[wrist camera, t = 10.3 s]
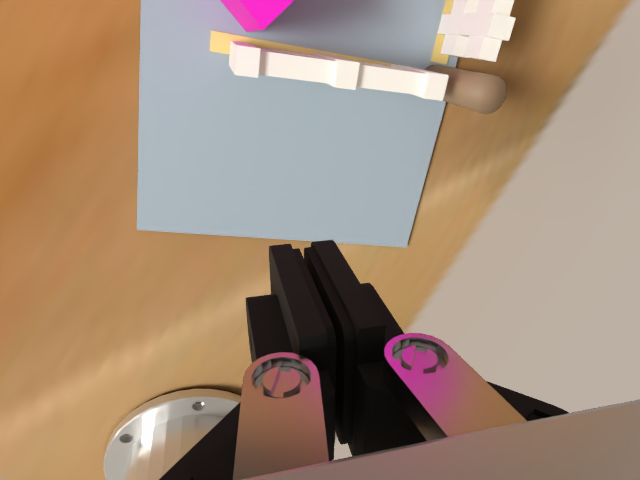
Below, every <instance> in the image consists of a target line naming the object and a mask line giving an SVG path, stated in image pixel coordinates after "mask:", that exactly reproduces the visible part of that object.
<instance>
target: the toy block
mask: <svg viewBox="0 0 640 480" xmlns="http://www.w3.org/2000/svg"><path fill="white" fill-rule="evenodd" d="M220 1H221V2H222V3H223V4H224V5H225V7H226V8H227V9H228V10H229V11H230V13H231V14H232V15H233V16H234V17H235V19H236V20H237V21H238V22H239V23H240V25H241V26H242V27H243V28H244V29H245V31H246V32H247V31H257V30H264V29H265V28H266V27H267V26H268V25H269V24H270V23H271V22H272V21H273V20H274V19H275V18H276V17H277V16H278V15H279V14H281V13H282V12H283V11H284V10H285V9H286V8H287V7H288V6H289V5H290V4H291V3H292V2H293V1H294V0H220Z"/></svg>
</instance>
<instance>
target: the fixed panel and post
mask: <svg viewBox="0 0 640 480" xmlns="http://www.w3.org/2000/svg"><path fill="white" fill-rule="evenodd" d="M513 3H514V0H454V3H453V6H452V10H451V14H442V17H441V21H440V25H439V29H438V33H437V34H442V35H445V38H444V42H443V45H442V49H441V54H446V55H451V56H456V57H463V58H473V59H478V60H485V61H492V62H496V59H497V56H498V52H499V49H500V46H501V42H502V40H503V41H509V39H510V35H511V32H512V29H513V26H514V22H515V19H516V18H514V17H510V13H511V9H512V6H513ZM425 70H428V71H432V72H437V73H441V74H446V75H449V76H448V77H449V79H448V83H447V87H446V92H445V96H444V98H443V101H446V102H449V103H452V104H455V105H458V106H461V107H464V108H467V109H470V110H473V111H476V112H479V113H482V114H490V113H493V112H495V111H496V110H498V109H499V108H500V107H501V105H502V104H503V102H504V100H505V98H506V93H507V89H506V84H505V82H504V80H503V79H502V78H500V77H499V76H496V75H491V74H485V73H480V72H474V71H469V70H464V69H458V68H453V67H447V66H442V65H436V64H435V65H430V66H428V67H427V68H426V69H425Z"/></svg>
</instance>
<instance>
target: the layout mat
mask: <svg viewBox="0 0 640 480" xmlns="http://www.w3.org/2000/svg"><path fill="white" fill-rule="evenodd" d="M453 3H454V0H294V1H293V2H292V3H291V4H290V5H289V6H288V7H287V8H286V9H285V10H284V11H283V12H282V13H281V14H279V15H278V16H277V17H276V18H275V19H274V20H273V21H272V22H271V23H270V24H269V25H268V26H267V27H266V28H265V29H264V30H257V31H247V32H246V31H245V29H244V28H243V27H242V26H241V25H240V23H239V22H238V21H237V20H236V19H235V17H234V16H233V15H232V14H231V13H230V11H229V10H228V9H227V8H226V7H225V5H224V4H223V3H222V2H221V1H220V0H141V28H140V84H139V140H138V197H137V230H147V231H162V232H178V233H193V234H209V235H224V236H240V237H255V238H270V239H286V240H301V241H324V240H333V241H334V242H335V243H348V244H363V245H379V246H394V247H407V244H408V240H409V236H410V233H411V229H412V225H413V222H414V218H415V214H416V211H417V207H418V203H419V200H420V196H421V192H422V189H423V185H424V181H425V178H426V174H427V170H428V167H429V163H430V159H431V156H432V152H433V148H434V145H435V141H436V137H437V133H438V130H439V126H440V122H441V119H442V115H443V111H444V108H445V104H446V101H439V100H431V99H424V98H421V97H418V96H415V95H412V94H407V93H399V92H391V91H383V90H375V89H367V88H359V87H356V90H351V89H343V88H335V87H333V86H331V85H329V84H327V83H320V82H312V81H304V80H296V79H288V78H280V77H272V76H264V75H258V78H254V77H246V76H238V75H235V74H234V73H233V71H232V69H231V68H230V66H229V56H230V41H236V42H243V43H250V44H252V45H254V46H256V47H261V48H268V49H275V50H282V51H289V52H296V53H303V54H310V55H315V53H320V54H327V55H333V56H337V57H341V58H345V59H348V60H352V61H359V62H366V63H373V64H380V65H387V66H391V64H396V65H403V66H409V67H414V68H418V69H423V70H425V69H426V68H427V67H428V66H430V65H435V64H436V65H442V66H447V67H453V68H455V67H456V64H457V60H458V57H456V56H451V55H446V54H441V49H442V45H443V42H444V38H445V35H442V34H437V33H438V29H439V25H440V21H441V17H442V14H451V10H452V6H453Z"/></svg>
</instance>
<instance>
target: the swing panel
mask: <svg viewBox="0 0 640 480" xmlns="http://www.w3.org/2000/svg"><path fill="white" fill-rule="evenodd" d="M229 66H230V68H231V69H232V71H233V73H234V74H235V75H238V76H246V77H254V78H258V75H264V76H272V77H280V78H288V79H296V80H304V81H312V82H320V83H327V84H329V85H331V86H333V87H335V88H343V89H351V90H356V87H359V88H367V89H375V90H383V91H391V92H399V93H407V94H412V95H415V96H418V97H421V98H424V99H431V100H439V101H443V98H444V96H445V92H446V87H447V83H448V79H449V77H448V76H449V75H446V74H441V73H437V72H432V71H428V70H423V69H418V68H414V67H409V66H403V65H396V64H391V66H387V65H380V64H373V63H366V62H359V61H352V60H348V59H345V58H341V57H337V56H333V55H327V54H320V53H315V55H310V54H303V53H296V52H289V51H282V50H275V49H268V48H261V47H256V46H254V45H252V44H250V43H243V42H236V41H230V56H229Z"/></svg>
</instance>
